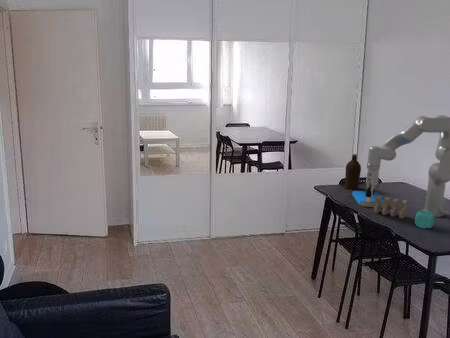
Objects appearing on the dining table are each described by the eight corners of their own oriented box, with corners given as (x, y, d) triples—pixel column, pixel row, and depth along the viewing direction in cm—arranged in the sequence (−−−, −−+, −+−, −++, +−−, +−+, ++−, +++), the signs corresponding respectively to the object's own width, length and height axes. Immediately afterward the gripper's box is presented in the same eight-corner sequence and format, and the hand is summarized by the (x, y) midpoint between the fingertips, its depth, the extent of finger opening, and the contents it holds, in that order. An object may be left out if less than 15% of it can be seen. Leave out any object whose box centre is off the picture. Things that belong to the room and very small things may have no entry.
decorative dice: (418, 222, 268) (420, 209, 266) (433, 226, 263) (435, 212, 261) (414, 226, 262) (415, 212, 260) (428, 229, 257) (430, 216, 255)
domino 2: (387, 213, 284) (389, 197, 281) (385, 215, 280) (387, 199, 277) (384, 212, 285) (386, 196, 282) (382, 214, 281) (383, 198, 278)
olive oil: (358, 191, 331) (361, 156, 326) (342, 189, 335) (346, 155, 329) (359, 187, 341) (363, 154, 335) (344, 185, 345) (348, 152, 339)
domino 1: (379, 211, 286) (381, 195, 284) (377, 213, 282) (378, 197, 280) (376, 210, 287) (378, 195, 285) (373, 212, 283) (375, 196, 281)
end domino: (371, 200, 288) (373, 184, 286) (369, 202, 284) (371, 186, 282) (368, 199, 289) (370, 184, 287) (366, 201, 285) (368, 185, 283)
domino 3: (396, 214, 281) (398, 198, 279) (393, 216, 277) (395, 200, 275) (392, 214, 282) (394, 198, 280) (390, 216, 278) (392, 200, 276)
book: (377, 192, 318) (387, 202, 293) (376, 198, 319) (386, 208, 294) (352, 190, 319) (360, 200, 294) (351, 196, 320) (359, 207, 295)
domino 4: (404, 216, 278) (406, 200, 276) (402, 218, 274) (404, 202, 272) (401, 215, 279) (403, 199, 277) (399, 218, 275) (401, 201, 273)
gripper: (375, 170, 273) (371, 200, 277) (383, 165, 286) (380, 194, 290) (362, 168, 277) (359, 197, 281) (371, 163, 290) (368, 192, 294)
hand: (369, 195), depth 286 cm, fingers closed on end domino, 4 cm apart
